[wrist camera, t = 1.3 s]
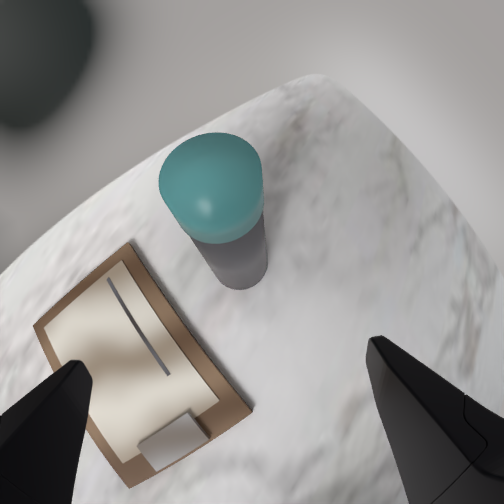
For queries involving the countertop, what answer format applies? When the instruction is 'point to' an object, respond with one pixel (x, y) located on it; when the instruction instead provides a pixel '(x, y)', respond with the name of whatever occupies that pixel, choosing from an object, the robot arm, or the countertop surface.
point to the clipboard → (138, 369)
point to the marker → (219, 204)
